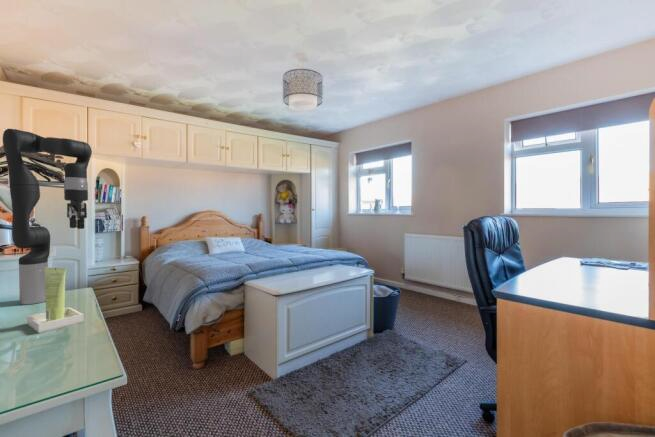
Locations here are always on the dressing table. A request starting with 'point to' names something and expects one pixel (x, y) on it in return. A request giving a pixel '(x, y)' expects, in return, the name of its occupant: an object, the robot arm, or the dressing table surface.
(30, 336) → the dressing table surface
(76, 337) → the dressing table surface
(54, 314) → the tube
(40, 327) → the tray
